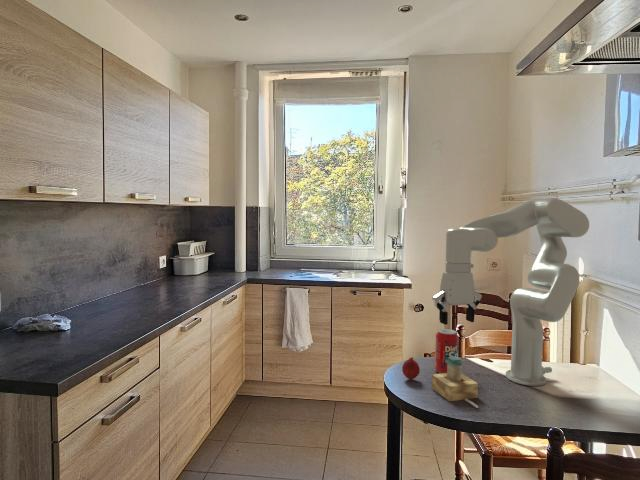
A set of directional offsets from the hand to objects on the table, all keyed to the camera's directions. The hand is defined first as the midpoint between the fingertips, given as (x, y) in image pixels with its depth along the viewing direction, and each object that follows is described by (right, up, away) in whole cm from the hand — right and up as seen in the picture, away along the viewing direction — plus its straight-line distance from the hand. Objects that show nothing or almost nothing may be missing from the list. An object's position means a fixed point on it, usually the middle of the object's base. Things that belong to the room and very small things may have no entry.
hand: (456, 322), depth 130 cm
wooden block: (-1, -23, +1) cm, 23 cm away
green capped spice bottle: (-1, -23, +2) cm, 23 cm away
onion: (-12, -22, +11) cm, 27 cm away
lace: (+2, -23, -7) cm, 24 cm away
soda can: (+2, -22, +19) cm, 29 cm away
